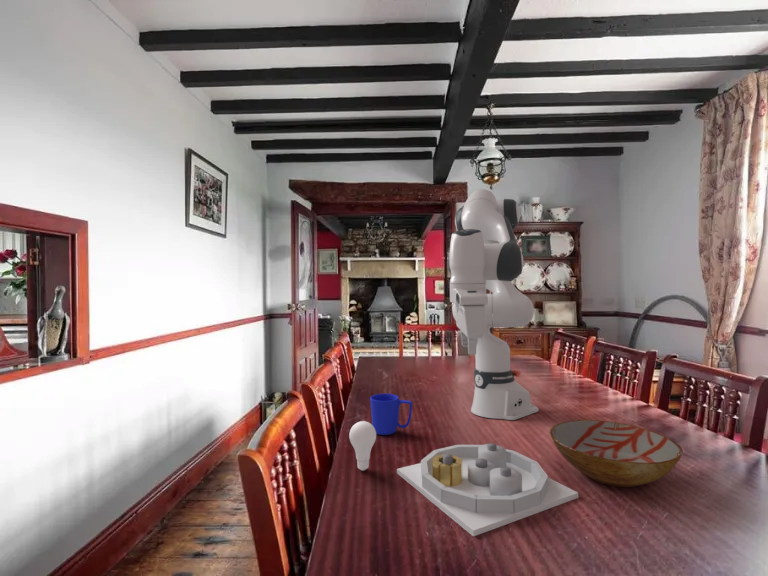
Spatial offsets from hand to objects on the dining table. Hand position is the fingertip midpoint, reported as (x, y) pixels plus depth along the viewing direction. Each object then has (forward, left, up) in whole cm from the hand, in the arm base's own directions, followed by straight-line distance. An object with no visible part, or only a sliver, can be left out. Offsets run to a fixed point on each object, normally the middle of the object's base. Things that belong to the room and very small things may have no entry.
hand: (468, 350), depth 101 cm
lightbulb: (+27, -4, -26) cm, 38 cm away
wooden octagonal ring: (+14, +10, -25) cm, 30 cm away
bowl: (-20, +24, -26) cm, 40 cm away
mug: (+10, -22, -26) cm, 35 cm away
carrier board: (+8, +14, -26) cm, 30 cm away
